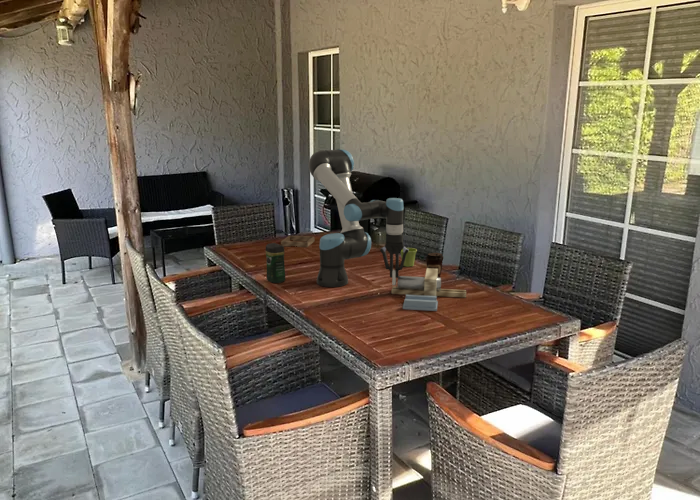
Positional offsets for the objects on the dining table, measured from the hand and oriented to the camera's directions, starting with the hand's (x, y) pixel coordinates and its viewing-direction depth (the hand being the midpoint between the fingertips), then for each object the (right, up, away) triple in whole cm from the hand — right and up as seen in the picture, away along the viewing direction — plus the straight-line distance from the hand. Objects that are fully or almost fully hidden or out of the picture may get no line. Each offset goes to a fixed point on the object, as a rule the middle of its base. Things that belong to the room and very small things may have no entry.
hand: (394, 284), depth 253 cm
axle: (+11, +1, -2) cm, 11 cm away
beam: (+16, -4, -2) cm, 17 cm away
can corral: (-53, +20, +100) cm, 115 cm away
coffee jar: (-56, 0, +21) cm, 60 cm away
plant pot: (+11, +7, +47) cm, 49 cm away
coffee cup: (+21, +1, +20) cm, 29 cm away
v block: (+10, -8, -17) cm, 22 cm away
